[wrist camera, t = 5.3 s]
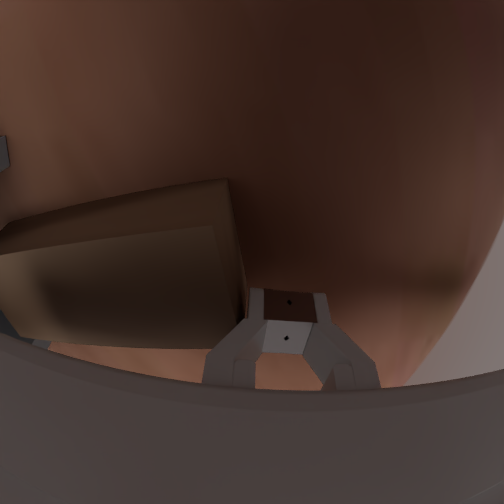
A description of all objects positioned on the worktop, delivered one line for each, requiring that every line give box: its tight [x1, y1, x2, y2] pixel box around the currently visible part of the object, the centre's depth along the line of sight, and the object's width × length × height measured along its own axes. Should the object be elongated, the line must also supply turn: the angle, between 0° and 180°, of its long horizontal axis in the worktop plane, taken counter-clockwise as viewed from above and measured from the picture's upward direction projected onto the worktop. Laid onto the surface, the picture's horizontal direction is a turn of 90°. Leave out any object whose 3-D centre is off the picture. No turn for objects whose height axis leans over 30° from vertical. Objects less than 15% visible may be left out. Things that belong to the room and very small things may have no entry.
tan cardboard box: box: [0, 178, 247, 349], centre depth 11 cm, size 5×12×4 cm, turn 98°
